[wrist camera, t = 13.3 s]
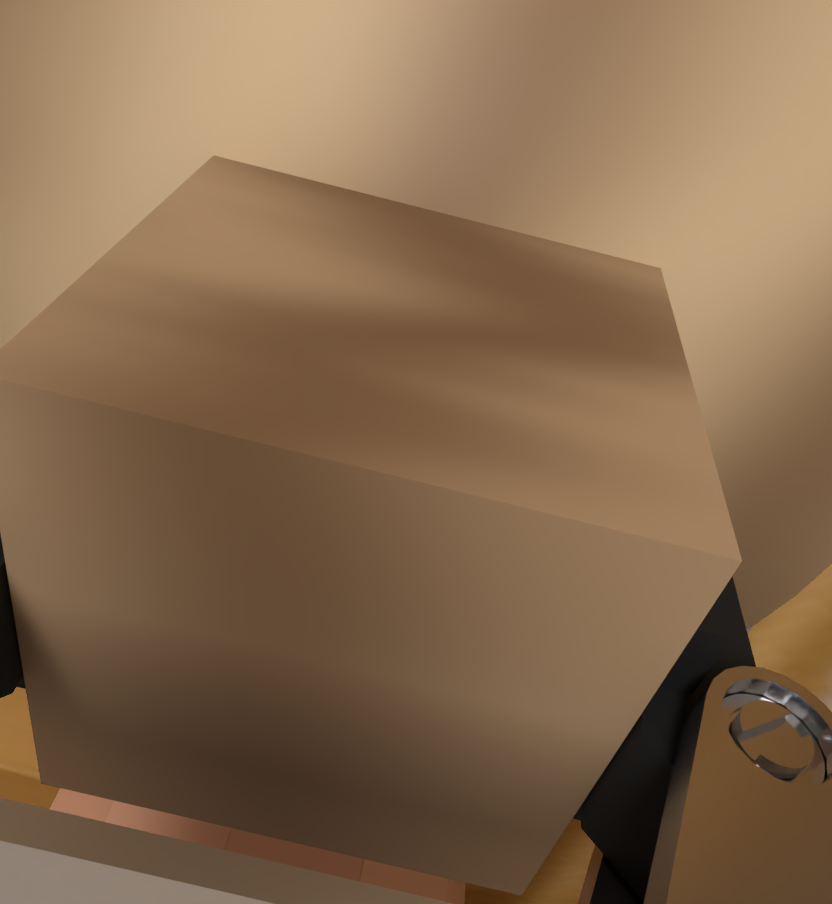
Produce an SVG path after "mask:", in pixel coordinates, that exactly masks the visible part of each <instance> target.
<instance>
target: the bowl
mask: <svg viewBox="0 0 832 904" xmlns="http://www.w3.org/2000/svg"><path fill="white" fill-rule="evenodd" d="M50 810H55V811H59V812H64V813H68V814H72V815H77V816H81V817H85V818H90V819H94V820H98V821H103V822H107V823H111V824H115V825H120V826H124V827H128V828H133V829H137V830H141V831H146V832H150V833H154V834H158V835H163V836H167V837H171V838H176V839H180V840H184V841H188V842H193V843H197V844H201V845H206V846H210V847H214V848H219V849H223V850H227V851H231V852H236V853H240V854H244V855H249V856H253V857H257V858H261V859H266V860H270V861H274V862H278V863H283V864H287V865H291V866H295V867H300V868H304V869H308V870H313V871H317V872H321V873H325V874H330V875H334V876H338V877H342V878H347V879H351V880H355V881H359V882H364V883H368V884H372V885H376V886H381V887H385V888H389V889H394V890H398V891H402V892H406V893H411V894H415V895H419V896H423V897H427V898H432V899H436V900H440V901H444V902H448V903H453V904H464V900H465V887H466V883H464V882H460V881H456V880H451V879H447V878H443V877H439V876H434V875H430V874H426V873H421V872H417V871H413V870H409V869H404V868H400V867H396V866H392V865H387V864H383V863H379V862H374V861H370V860H366V859H362V858H357V857H353V856H349V855H345V854H340V853H336V852H332V851H327V850H323V849H319V848H315V847H310V846H306V845H302V844H297V843H293V842H289V841H285V840H280V839H276V838H272V837H268V836H263V835H259V834H255V833H250V832H246V831H242V830H238V829H233V828H229V827H225V826H221V825H216V824H212V823H208V822H203V821H199V820H195V819H191V818H186V817H182V816H178V815H173V814H169V813H165V812H161V811H156V810H152V809H148V808H144V807H139V806H135V805H131V804H126V803H122V802H118V801H114V800H109V799H105V798H101V797H97V796H92V795H88V794H84V793H79V792H75V791H71V790H67V789H62V788H60V790H59V792H58V794H57V796H56V798H55V800H54V802H53V803H52V805H51V807H50Z"/></svg>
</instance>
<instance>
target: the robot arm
mask: <svg viewBox="0 0 832 904" xmlns="http://www.w3.org/2000/svg"><path fill="white" fill-rule="evenodd" d="M16 687H21V688H25V689H26V687H25V681H24V674H23V668H22V662H21V656H20V650H19V644H18V638H17V631H16V625H15V619H14V613H13V607H12V601H11V595H10V588H9V582H8V576H7V570H6V564H5V558H4V552H3V545H2V539H1V533H0V698H1V697H4V696H6V695H9V694H11V693H13V691H14V690H15V688H16ZM573 818H574V819H578V820H581V828H582V829H583V830H584V832H585V833H586V834H587V835H588V836H589V838H590V839H591V840H592V841H593V842H594V844H595V847H594V850H593V853H592V857H591V860H590V864H589V867H588V871H587V874H586V878H585V881H584V885H583V888H582V892H581V895H580V899H579V902H578V904H832V712H831V711H830V710H829V708H828V707H827V706H826V705H825V704H824V703H823V702H821V701H820V700H819V699H818V698H817V697H816V696H815V695H813V694H812V693H811V692H810V691H809V690H808V689H806V688H805V687H803V686H801V685H800V684H798V683H796V682H795V681H793V680H791V679H790V678H788V677H786V676H784V675H782V674H779V673H776V672H773V671H771V670H768V669H765V668H760V667H756V665H755V661H754V657H753V654H752V650H751V646H750V642H749V638H748V634H747V630H746V626H745V622H744V619H743V615H742V611H741V607H740V603H739V599H738V595H737V591H736V587H735V584H734V580H733V576H732V577H731V579H730V580H729V582H728V583H727V585H726V586H725V588H724V589H723V591H722V592H721V594H720V595H719V597H718V598H717V600H716V601H715V603H714V604H713V606H712V608H711V609H710V611H709V612H708V614H707V615H706V617H705V618H704V620H703V621H702V623H701V624H700V626H699V627H698V629H697V630H696V632H695V633H694V635H693V636H692V638H691V639H690V641H689V642H688V644H687V645H686V647H685V648H684V650H683V652H682V653H681V655H680V656H679V658H678V659H677V661H676V662H675V664H674V665H673V667H672V668H671V670H670V671H669V673H668V674H667V676H666V677H665V679H664V680H663V682H662V683H661V685H660V686H659V688H658V689H657V691H656V693H655V694H654V696H653V697H652V699H651V700H650V702H649V703H648V705H647V706H646V708H645V709H644V711H643V712H642V714H641V715H640V717H639V718H638V720H637V721H636V723H635V724H634V726H633V727H632V729H631V730H630V732H629V733H628V735H627V737H626V738H625V740H624V741H623V743H622V744H621V746H620V747H619V749H618V750H617V752H616V753H615V755H614V756H613V758H612V759H611V761H610V762H609V764H608V765H607V767H606V768H605V770H604V771H603V773H602V774H601V776H600V778H599V779H598V781H597V782H596V784H595V785H594V787H593V788H592V790H591V791H590V793H589V794H588V796H587V797H586V799H585V800H584V802H583V803H582V805H581V806H580V808H579V809H578V811H577V812H576V814H575V815H574V817H573ZM0 904H453V903H448V902H444V901H440V900H436V899H432V898H427V897H423V896H419V895H415V894H411V893H406V892H402V891H398V890H394V889H389V888H385V887H381V886H376V885H372V884H368V883H364V882H359V881H355V880H351V879H347V878H342V877H338V876H334V875H330V874H325V873H321V872H317V871H313V870H308V869H304V868H300V867H295V866H291V865H287V864H283V863H278V862H274V861H270V860H266V859H261V858H257V857H253V856H249V855H244V854H240V853H236V852H231V851H227V850H223V849H219V848H214V847H210V846H206V845H201V844H197V843H193V842H188V841H184V840H180V839H176V838H171V837H167V836H163V835H158V834H154V833H150V832H146V831H141V830H137V829H133V828H128V827H124V826H120V825H115V824H111V823H107V822H103V821H98V820H94V819H90V818H85V817H81V816H77V815H72V814H68V813H64V812H59V811H55V810H50V809H46V808H42V807H37V806H33V805H29V804H24V803H20V802H15V801H11V800H7V799H2V798H0Z"/></svg>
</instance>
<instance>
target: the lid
mask: <svg viewBox="0 0 832 904" xmlns="http://www.w3.org/2000/svg"><path fill="white" fill-rule="evenodd" d="M0 533H1V539H2V545H3V552H4V558H5V564H6V570H7V576H8V582H9V588H10V595H11V601H12V607H13V613H14V619H15V625H16V631H17V638H18V644H19V650H20V656H21V662H22V668H23V674H24V681H25V687H26V693H27V699H28V705H29V711H30V717H31V724H32V730H33V736H34V742H35V748H36V754H37V760H38V767H39V773H40V779H41V784H45V785H49V786H54V787H58V788H62V789H67V790H71V791H75V792H79V793H84V794H88V795H92V796H97V797H101V798H105V799H109V800H114V801H118V802H122V803H126V804H131V805H135V806H139V807H144V808H148V809H152V810H156V811H161V812H165V813H169V814H173V815H178V816H182V817H186V818H191V819H195V820H199V821H203V822H208V823H212V824H216V825H221V826H225V827H229V828H233V829H238V830H242V831H246V832H250V833H255V834H259V835H263V836H268V837H272V838H276V839H280V840H285V841H289V842H293V843H297V844H302V845H306V846H310V847H315V848H319V849H323V850H327V851H332V852H336V853H340V854H345V855H349V856H353V857H357V858H362V859H366V860H370V861H374V862H379V863H383V864H387V865H392V866H396V867H400V868H404V869H409V870H413V871H417V872H421V873H426V874H430V875H434V876H439V877H443V878H447V879H451V880H456V881H460V882H464V883H469V884H473V885H477V886H481V887H486V888H490V889H494V890H498V891H503V892H507V893H511V894H516V895H520V896H522V894H523V893H524V891H525V890H526V888H527V887H528V885H529V884H530V882H531V881H532V879H533V878H534V876H535V875H536V873H537V872H538V870H539V869H540V867H541V866H542V864H543V863H544V861H545V859H546V858H547V856H548V855H549V853H550V852H551V850H552V849H553V847H554V846H555V844H556V843H557V841H558V840H559V838H560V837H561V835H562V834H563V832H564V831H565V829H566V828H567V826H568V825H569V823H570V822H571V820H572V818H573V817H574V815H575V814H576V812H577V811H578V809H579V808H580V806H581V805H582V803H583V802H584V800H585V799H586V797H587V796H588V794H589V793H590V791H591V790H592V788H593V787H594V785H595V784H596V782H597V781H598V779H599V778H600V776H601V774H602V773H603V771H604V770H605V768H606V767H607V765H608V764H609V762H610V761H611V759H612V758H613V756H614V755H615V753H616V752H617V750H618V749H619V747H620V746H621V744H622V743H623V741H624V740H625V738H626V737H627V735H628V733H629V732H630V730H631V729H632V727H633V726H634V724H635V723H636V721H637V720H638V718H639V717H640V715H641V714H642V712H643V711H644V709H645V708H646V706H647V705H648V703H649V702H650V700H651V699H652V697H653V696H654V694H655V693H656V691H657V689H658V688H659V686H660V685H661V683H662V682H663V680H664V679H665V677H666V676H667V674H668V673H669V671H670V670H671V668H672V667H673V665H674V664H675V662H676V661H677V659H678V658H679V656H680V655H681V653H682V652H683V650H684V648H685V647H686V645H687V644H688V642H689V641H690V639H691V638H692V636H693V635H694V633H695V632H696V630H697V629H698V627H699V626H700V624H701V623H702V621H703V620H704V618H705V617H706V615H707V614H708V612H709V611H710V609H711V608H712V606H713V604H714V603H715V601H716V600H717V598H718V597H719V595H720V594H721V592H722V591H723V589H724V588H725V586H726V585H727V583H728V582H729V580H730V579H731V577H732V576H733V580H734V584H735V587H736V591H737V595H738V599H739V603H740V607H741V611H742V615H743V619H744V622H745V626H746V630H747V629H749V628H750V627H752V626H753V625H755V624H756V623H758V622H759V621H760V620H762V619H763V618H765V617H766V616H768V615H769V614H770V613H772V612H773V611H775V610H776V609H777V608H779V607H780V606H782V605H783V604H785V603H786V602H787V601H789V600H790V599H792V598H793V597H794V596H796V595H797V594H798V593H799V592H800V591H801V590H802V589H803V588H805V587H806V586H807V585H808V584H809V583H810V582H811V581H812V580H814V579H815V578H816V577H817V576H818V575H819V574H820V573H821V572H822V571H824V570H825V569H826V568H827V567H828V566H829V565H830V564H831V563H832V0H0Z"/></svg>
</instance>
